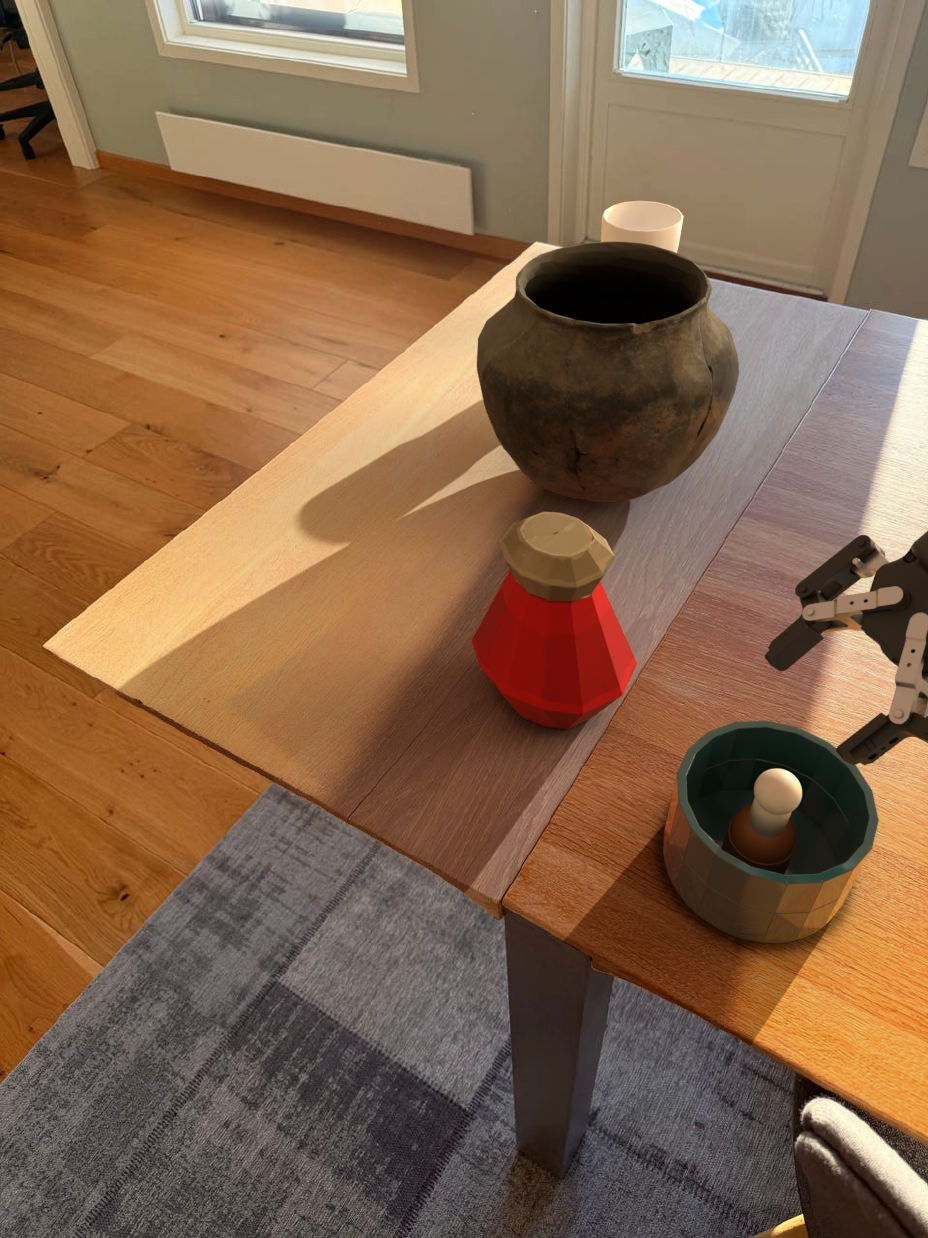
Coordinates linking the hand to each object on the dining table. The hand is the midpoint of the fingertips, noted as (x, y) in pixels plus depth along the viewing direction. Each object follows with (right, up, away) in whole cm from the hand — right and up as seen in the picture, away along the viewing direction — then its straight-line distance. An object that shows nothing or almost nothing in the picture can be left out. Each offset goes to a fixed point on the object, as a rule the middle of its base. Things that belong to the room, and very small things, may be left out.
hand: (806, 709), depth 60 cm
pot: (-6, +23, +52) cm, 57 cm away
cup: (+3, +50, +79) cm, 93 cm away
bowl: (+1, -14, +14) cm, 19 cm away
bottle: (-14, -1, +27) cm, 31 cm away
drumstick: (+1, -13, +13) cm, 19 cm away
